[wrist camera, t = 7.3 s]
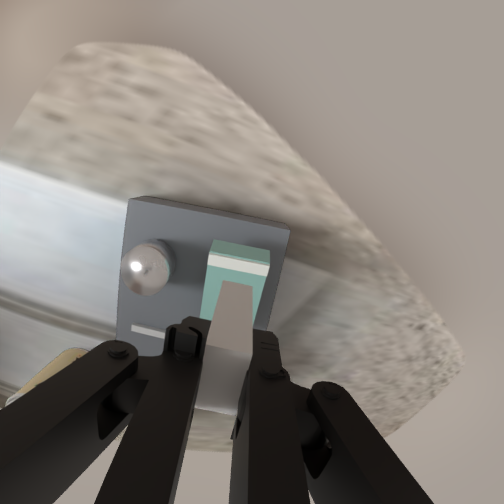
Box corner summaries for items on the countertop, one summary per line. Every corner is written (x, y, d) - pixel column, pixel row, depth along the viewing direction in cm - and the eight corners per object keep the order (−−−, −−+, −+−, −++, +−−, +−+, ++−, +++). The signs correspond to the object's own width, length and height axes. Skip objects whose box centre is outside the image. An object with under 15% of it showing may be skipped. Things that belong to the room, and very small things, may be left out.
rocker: (201, 315, 26) (197, 332, 24) (213, 239, 23) (209, 252, 21) (249, 325, 26) (248, 341, 24) (269, 250, 23) (269, 265, 21)
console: (128, 355, 32) (113, 380, 27) (143, 195, 28) (125, 199, 23) (246, 381, 32) (246, 409, 28) (284, 223, 29) (291, 232, 24)
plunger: (131, 277, 25) (118, 289, 22) (136, 235, 25) (122, 242, 22) (172, 287, 26) (164, 300, 23) (179, 243, 25) (170, 252, 22)
